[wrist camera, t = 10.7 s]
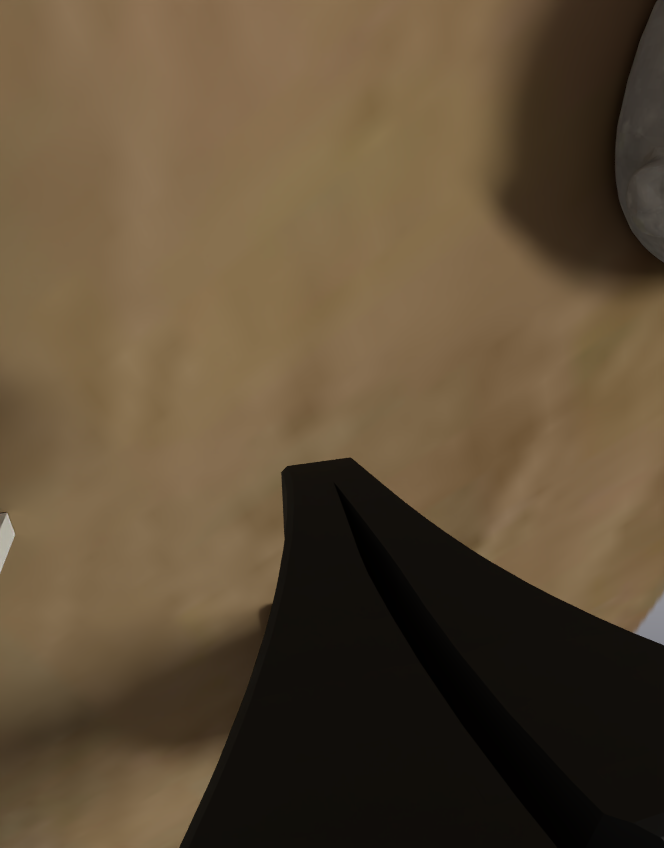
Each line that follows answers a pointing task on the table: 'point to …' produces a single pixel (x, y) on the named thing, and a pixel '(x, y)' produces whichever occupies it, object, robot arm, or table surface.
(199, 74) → the table surface
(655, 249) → the dish
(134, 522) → the table surface
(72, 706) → the table surface
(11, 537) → the white divided tray
